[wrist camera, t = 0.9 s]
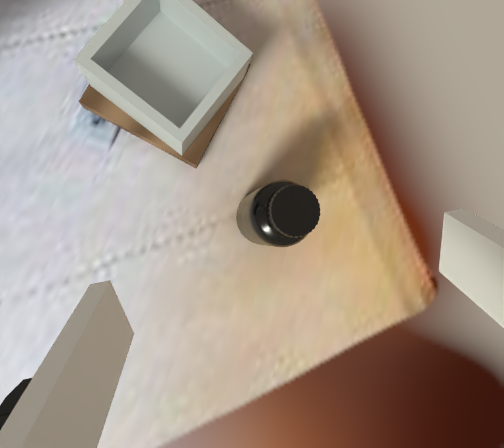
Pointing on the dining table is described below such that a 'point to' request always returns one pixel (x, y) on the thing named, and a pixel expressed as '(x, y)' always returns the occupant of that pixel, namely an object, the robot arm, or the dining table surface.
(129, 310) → the dining table surface
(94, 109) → the walnut plinth
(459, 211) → the robot arm
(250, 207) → the supplement bottle
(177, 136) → the grey square open box
